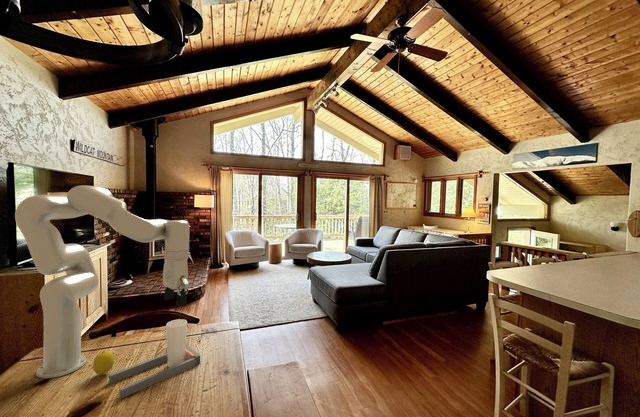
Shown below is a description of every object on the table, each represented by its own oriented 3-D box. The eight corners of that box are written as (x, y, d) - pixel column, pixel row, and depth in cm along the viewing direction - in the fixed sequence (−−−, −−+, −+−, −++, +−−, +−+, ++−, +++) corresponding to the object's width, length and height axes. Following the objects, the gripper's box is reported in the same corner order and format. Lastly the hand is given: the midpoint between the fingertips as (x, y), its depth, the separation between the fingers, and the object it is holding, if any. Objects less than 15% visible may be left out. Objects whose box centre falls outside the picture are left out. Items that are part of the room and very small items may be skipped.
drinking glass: (177, 371, 94) (178, 328, 94) (160, 368, 96) (161, 325, 95) (190, 360, 101) (191, 320, 101) (174, 358, 102) (175, 318, 102)
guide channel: (109, 382, 87) (109, 372, 87) (185, 352, 106) (185, 344, 106) (120, 399, 80) (120, 388, 80) (200, 363, 99) (200, 354, 99)
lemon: (112, 367, 95) (112, 344, 95) (115, 374, 91) (115, 351, 91) (91, 374, 91) (92, 350, 91) (93, 382, 88) (94, 357, 87)
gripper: (155, 252, 100) (154, 299, 100) (176, 259, 89) (175, 312, 90) (176, 250, 106) (175, 294, 106) (198, 257, 95) (197, 306, 95)
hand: (175, 302), depth 98 cm, fingers open, 9 cm apart
